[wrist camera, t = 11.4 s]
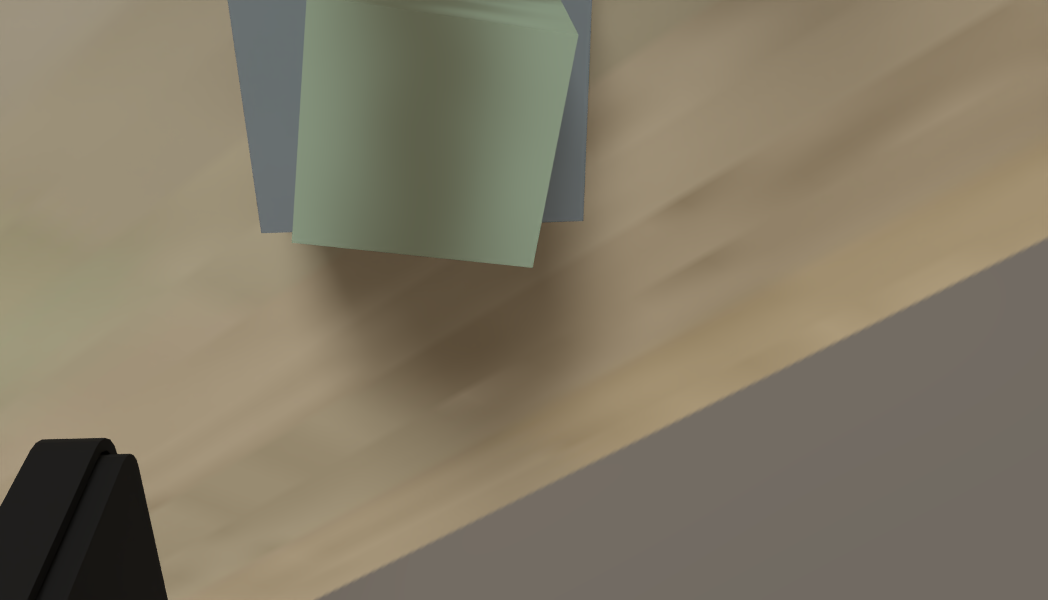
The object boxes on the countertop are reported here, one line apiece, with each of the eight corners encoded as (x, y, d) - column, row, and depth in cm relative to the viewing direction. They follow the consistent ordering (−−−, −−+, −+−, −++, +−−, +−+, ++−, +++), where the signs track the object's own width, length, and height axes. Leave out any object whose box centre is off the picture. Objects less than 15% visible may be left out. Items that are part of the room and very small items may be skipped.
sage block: (547, -26, 27) (578, 34, 22) (512, 173, 30) (532, 267, 25) (327, -60, 26) (306, -5, 21) (313, 149, 29) (291, 242, 24)
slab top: (575, -139, 30) (596, -119, 26) (566, 170, 35) (583, 220, 31) (234, -137, 29) (210, -117, 26) (276, 180, 34) (261, 233, 31)
